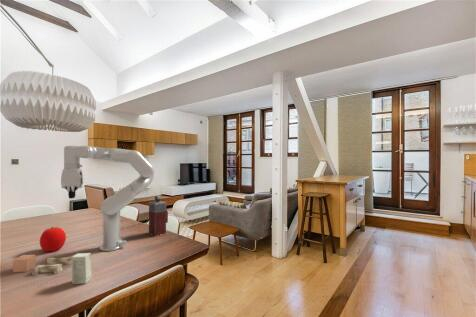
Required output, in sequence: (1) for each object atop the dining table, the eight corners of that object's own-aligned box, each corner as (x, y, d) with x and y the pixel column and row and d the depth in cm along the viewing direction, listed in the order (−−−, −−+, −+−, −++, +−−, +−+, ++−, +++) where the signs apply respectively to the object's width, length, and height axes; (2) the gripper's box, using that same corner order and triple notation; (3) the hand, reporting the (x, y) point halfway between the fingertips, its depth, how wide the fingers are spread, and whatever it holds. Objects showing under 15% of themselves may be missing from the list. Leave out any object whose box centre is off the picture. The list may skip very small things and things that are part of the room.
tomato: (35, 255, 133) (35, 230, 133) (45, 247, 144) (45, 224, 144) (60, 252, 137) (60, 228, 137) (69, 245, 148) (69, 223, 148)
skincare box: (91, 278, 108) (91, 252, 108) (86, 284, 104) (86, 256, 104) (77, 279, 108) (77, 252, 108) (71, 284, 104) (71, 256, 104)
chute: (73, 260, 127) (73, 255, 127) (57, 273, 113) (57, 267, 113) (51, 261, 125) (51, 256, 125) (32, 275, 111) (32, 268, 111)
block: (35, 266, 120) (35, 254, 120) (26, 271, 115) (27, 259, 115) (22, 266, 119) (22, 255, 119) (13, 272, 114) (13, 260, 114)
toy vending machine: (168, 232, 174) (169, 195, 174) (155, 236, 165) (155, 197, 165) (162, 230, 180) (162, 193, 180) (148, 233, 171) (148, 195, 171)
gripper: (88, 166, 142) (88, 196, 142) (61, 166, 140) (61, 197, 140) (82, 167, 134) (82, 199, 135) (53, 167, 132) (53, 199, 132)
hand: (71, 198), depth 137 cm, fingers closed
